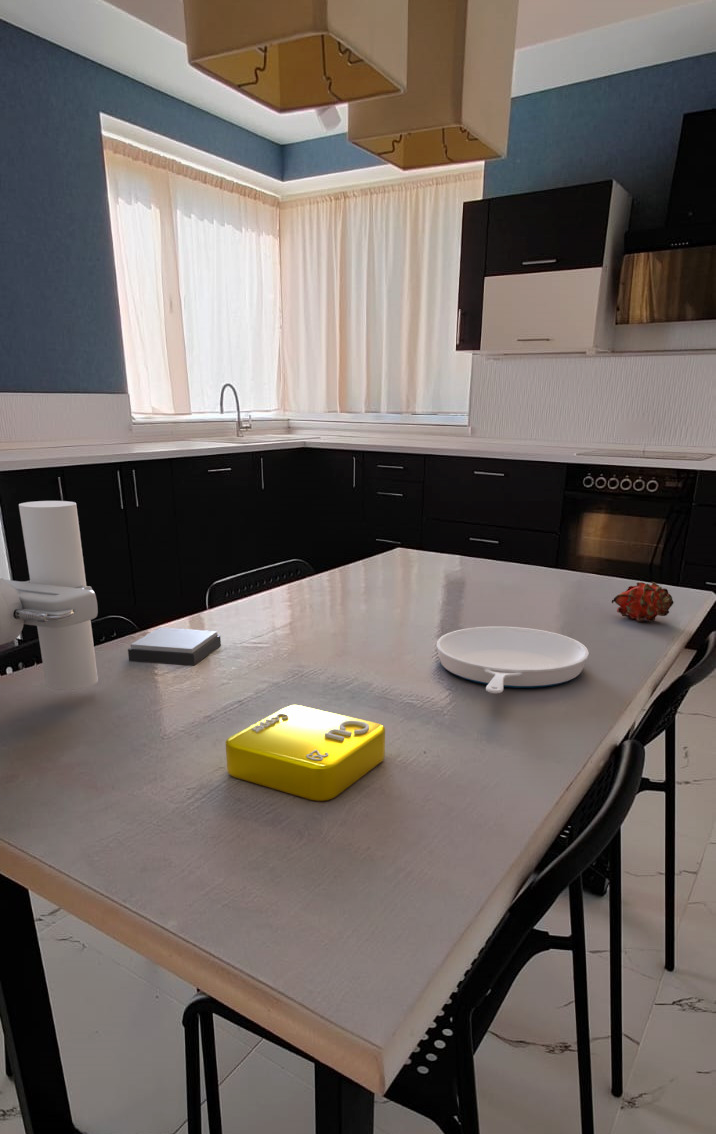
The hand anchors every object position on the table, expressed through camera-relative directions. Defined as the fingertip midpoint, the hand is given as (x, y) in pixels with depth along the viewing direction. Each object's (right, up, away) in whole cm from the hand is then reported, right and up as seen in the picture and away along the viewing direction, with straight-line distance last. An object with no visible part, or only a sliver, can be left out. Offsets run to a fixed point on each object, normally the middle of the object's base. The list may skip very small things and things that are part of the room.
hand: (63, 588), depth 107 cm
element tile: (+35, -24, -13) cm, 45 cm away
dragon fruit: (+100, +3, +52) cm, 112 cm away
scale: (+9, -6, +28) cm, 30 cm away
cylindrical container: (0, -13, +5) cm, 14 cm away
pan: (+65, -12, +17) cm, 68 cm away
